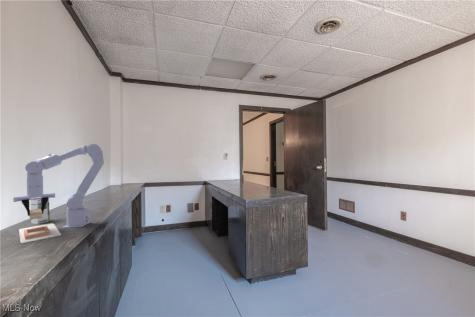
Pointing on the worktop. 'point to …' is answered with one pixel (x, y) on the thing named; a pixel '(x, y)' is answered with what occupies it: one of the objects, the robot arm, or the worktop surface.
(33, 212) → the maple block
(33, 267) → the worktop surface
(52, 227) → the white mat
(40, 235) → the terracotta frame
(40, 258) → the worktop surface
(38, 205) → the syrup box
